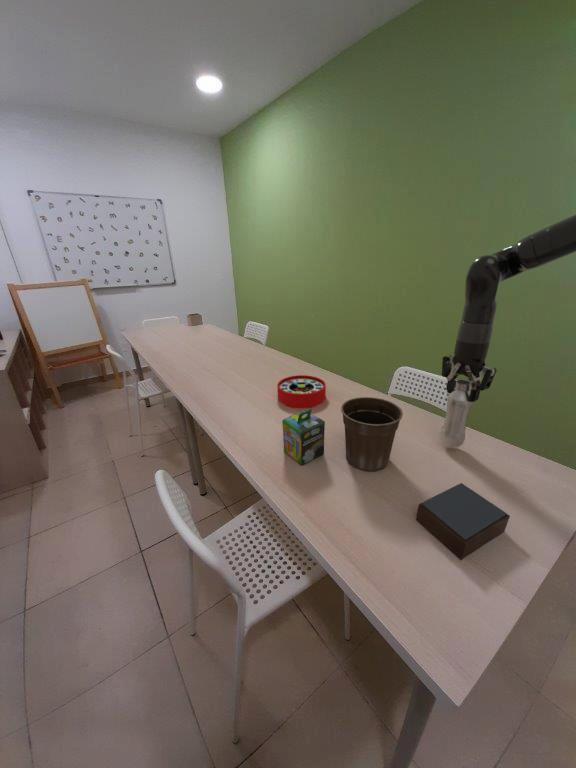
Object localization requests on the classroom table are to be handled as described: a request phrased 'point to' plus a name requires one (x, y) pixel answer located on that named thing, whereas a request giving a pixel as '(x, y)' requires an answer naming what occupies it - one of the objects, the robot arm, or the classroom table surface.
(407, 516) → the classroom table surface
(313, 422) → the chalk box
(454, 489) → the step block
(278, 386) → the toy clock
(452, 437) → the plastic bottle
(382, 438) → the plant pot
